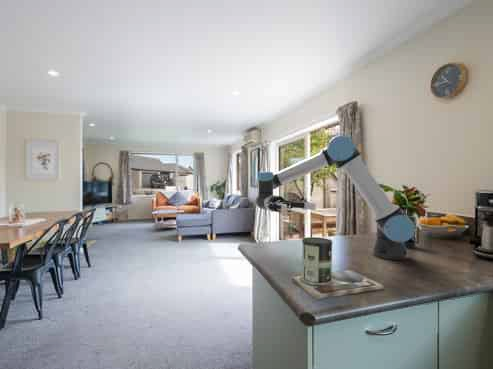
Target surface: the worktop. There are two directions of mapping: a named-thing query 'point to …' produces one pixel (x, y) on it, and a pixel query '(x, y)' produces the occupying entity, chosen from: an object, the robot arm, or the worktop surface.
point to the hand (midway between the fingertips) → (300, 207)
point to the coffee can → (317, 261)
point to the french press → (410, 242)
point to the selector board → (339, 285)
